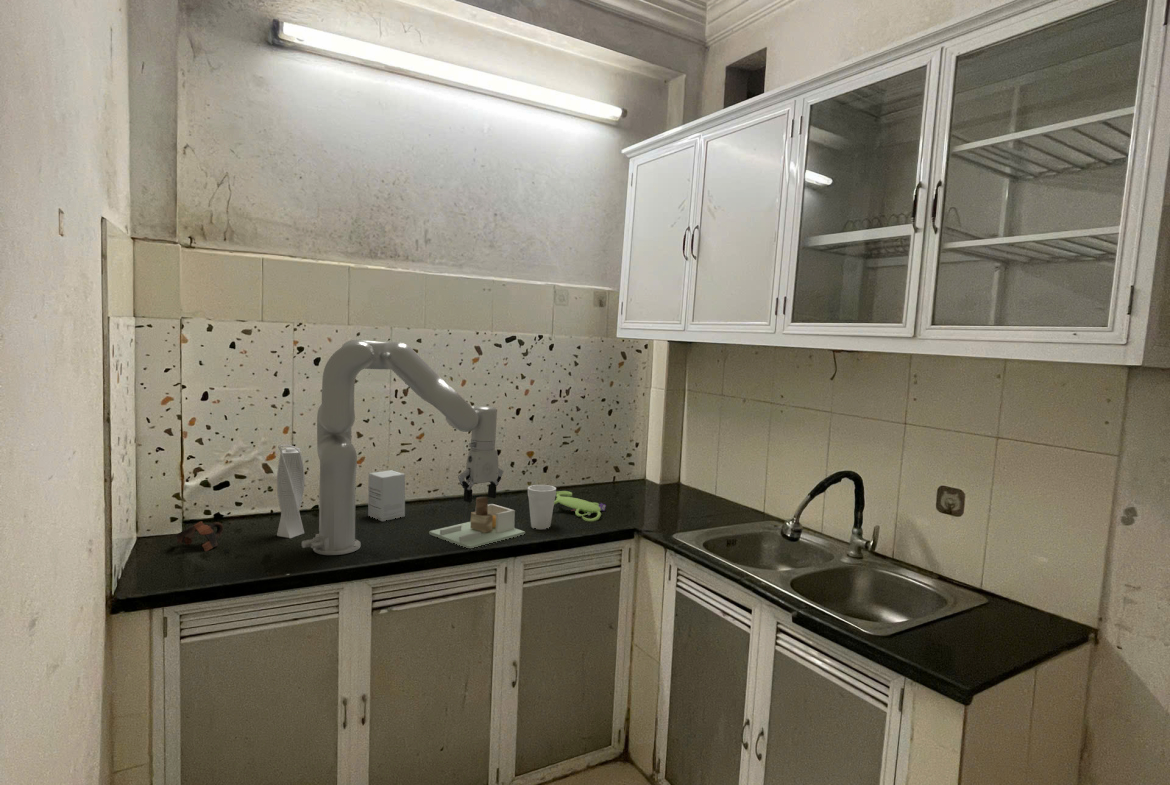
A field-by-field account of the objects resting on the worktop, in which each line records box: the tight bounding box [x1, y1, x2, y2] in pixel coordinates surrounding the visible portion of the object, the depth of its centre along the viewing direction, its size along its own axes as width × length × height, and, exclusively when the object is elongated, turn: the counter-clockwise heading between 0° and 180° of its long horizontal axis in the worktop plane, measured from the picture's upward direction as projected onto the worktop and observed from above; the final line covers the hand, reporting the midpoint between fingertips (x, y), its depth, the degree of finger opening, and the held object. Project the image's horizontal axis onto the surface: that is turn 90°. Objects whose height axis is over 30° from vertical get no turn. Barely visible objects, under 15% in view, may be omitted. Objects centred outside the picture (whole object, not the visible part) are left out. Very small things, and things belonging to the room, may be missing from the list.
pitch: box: [428, 503, 526, 549], centre depth 199 cm, size 22×20×7 cm
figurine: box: [554, 490, 607, 522], centre depth 231 cm, size 18×27×6 cm
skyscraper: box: [276, 444, 306, 539], centre depth 190 cm, size 8×8×28 cm
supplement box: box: [367, 469, 406, 522], centre depth 214 cm, size 9×9×15 cm
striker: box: [470, 496, 493, 533], centre depth 200 cm, size 4×7×10 cm, turn 49°
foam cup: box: [527, 484, 557, 530], centre depth 210 cm, size 10×9×13 cm
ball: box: [492, 515, 496, 528], centre depth 203 cm, size 4×4×4 cm
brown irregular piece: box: [175, 521, 224, 552], centre depth 178 cm, size 12×10×8 cm
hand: (479, 499), depth 199 cm, fingers open, 9 cm apart
